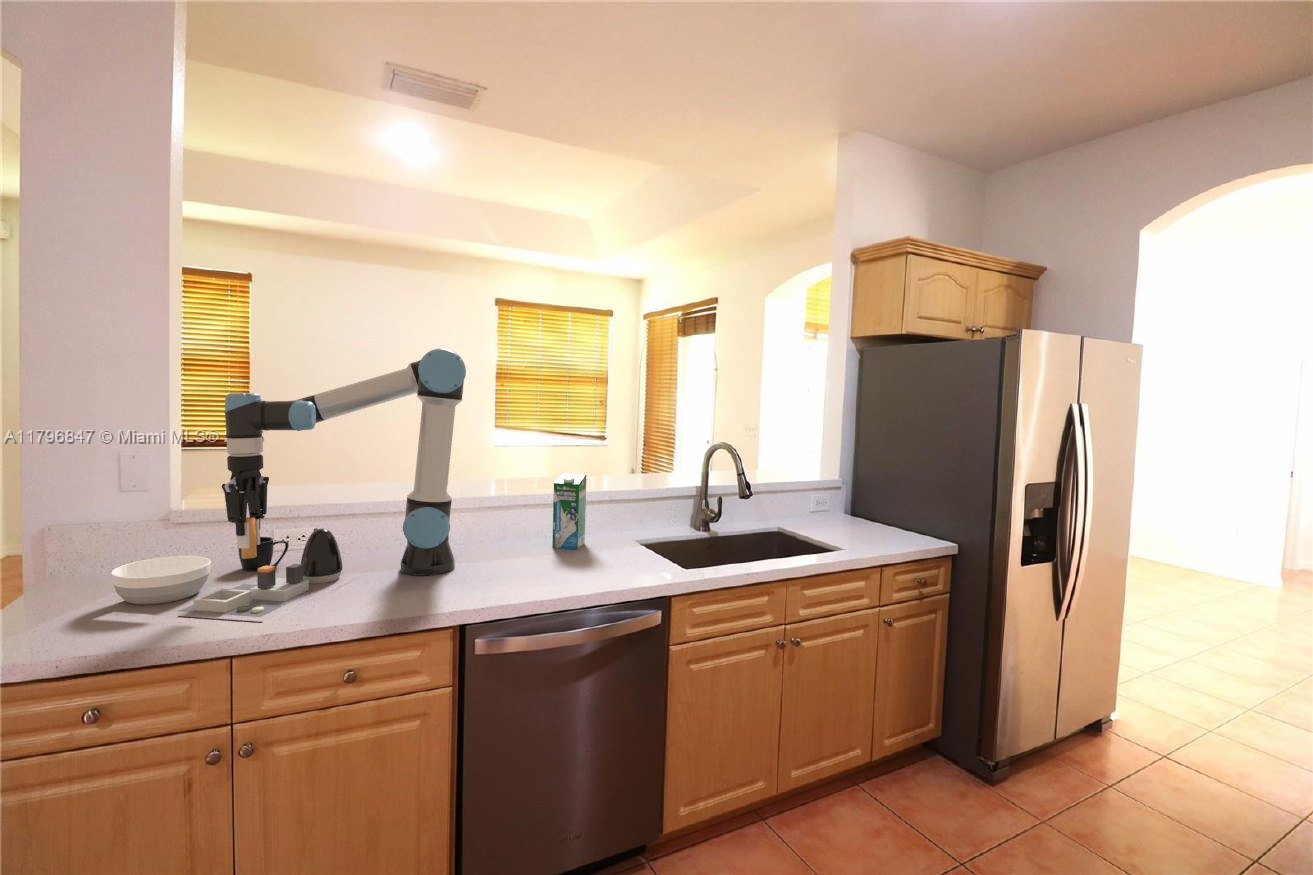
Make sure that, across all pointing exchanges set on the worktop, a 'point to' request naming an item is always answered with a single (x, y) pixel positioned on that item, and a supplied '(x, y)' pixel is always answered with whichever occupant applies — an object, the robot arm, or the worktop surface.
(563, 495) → the milk carton
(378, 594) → the worktop surface
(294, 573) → the block
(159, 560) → the bowl
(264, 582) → the block
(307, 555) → the black domed piece
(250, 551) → the pin
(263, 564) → the mug
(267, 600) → the panel board
